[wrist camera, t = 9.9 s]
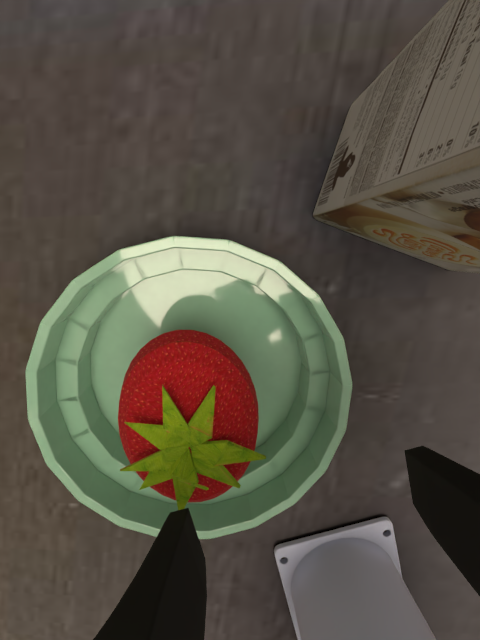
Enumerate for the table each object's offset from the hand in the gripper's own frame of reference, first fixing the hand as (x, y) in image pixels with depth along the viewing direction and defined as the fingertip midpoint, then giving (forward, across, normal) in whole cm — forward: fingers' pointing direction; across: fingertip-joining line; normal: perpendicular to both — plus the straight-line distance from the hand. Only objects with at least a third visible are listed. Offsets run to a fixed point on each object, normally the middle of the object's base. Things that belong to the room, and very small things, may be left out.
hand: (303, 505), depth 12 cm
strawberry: (+10, +4, -2) cm, 11 cm away
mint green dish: (+10, +4, -2) cm, 11 cm away
